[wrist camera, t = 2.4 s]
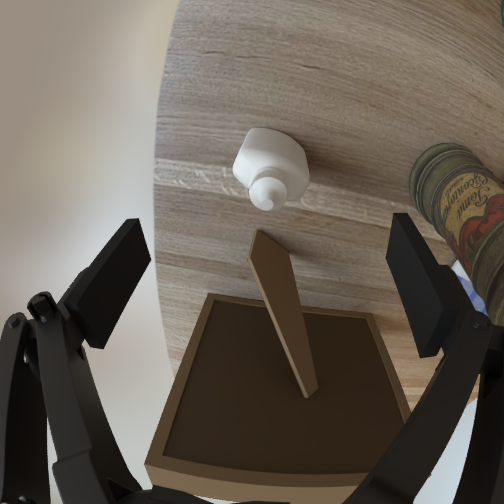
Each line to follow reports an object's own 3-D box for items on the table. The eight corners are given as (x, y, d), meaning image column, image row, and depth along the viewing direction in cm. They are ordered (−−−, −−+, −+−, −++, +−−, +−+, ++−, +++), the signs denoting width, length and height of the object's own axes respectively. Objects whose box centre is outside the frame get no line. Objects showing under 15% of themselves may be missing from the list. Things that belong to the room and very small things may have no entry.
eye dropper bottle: (273, 182, 30) (266, 254, 20) (237, 138, 27) (208, 189, 18) (310, 158, 28) (324, 220, 18) (274, 111, 25) (267, 145, 16)
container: (489, 173, 25) (591, 276, 11) (444, 231, 30) (515, 356, 16) (440, 123, 24) (566, 213, 9) (391, 191, 29) (467, 326, 14)
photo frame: (361, 333, 41) (379, 506, 21) (208, 315, 42) (163, 494, 21) (400, 249, 32) (471, 465, 12) (208, 221, 33) (121, 458, 13)
